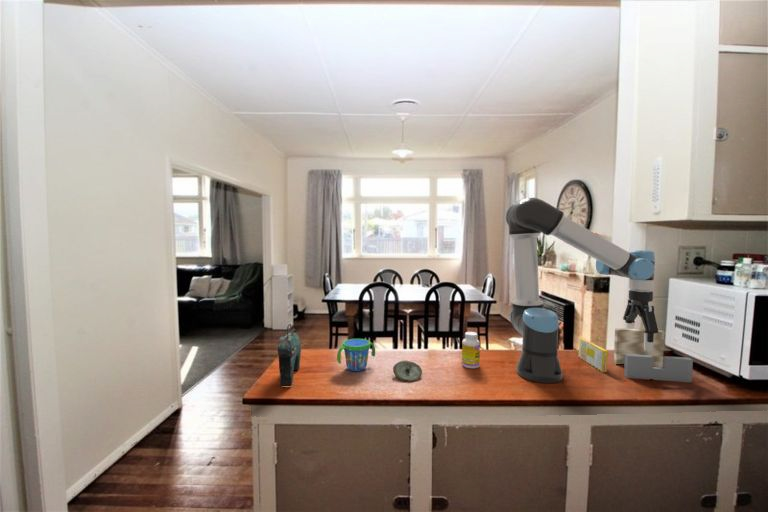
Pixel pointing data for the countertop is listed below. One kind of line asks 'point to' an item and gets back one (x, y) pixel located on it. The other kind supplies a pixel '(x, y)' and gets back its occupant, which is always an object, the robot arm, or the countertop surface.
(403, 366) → the lid
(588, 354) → the candy box
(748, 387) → the countertop surface
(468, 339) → the supplement bottle
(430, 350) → the countertop surface
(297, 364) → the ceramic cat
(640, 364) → the grey notched base plate
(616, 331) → the beige brown notched block
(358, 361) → the snack cup
